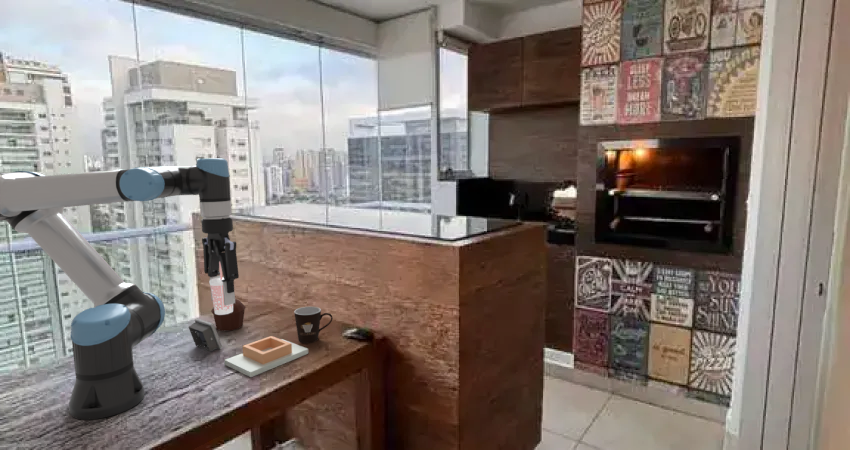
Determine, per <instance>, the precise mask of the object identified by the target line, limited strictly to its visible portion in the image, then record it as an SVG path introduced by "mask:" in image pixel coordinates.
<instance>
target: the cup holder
mask: <svg viewBox="0 0 850 450" xmlns="http://www.w3.org/2000/svg"><path fill="white" fill-rule="evenodd" d="M307 354H309V348H307V347H306V346H305V347H304V346H302V345H299V344H296V343H294V342H292V341H289V340H285V339H283V338H278V337H275V336H274V335H270V336H267V337H264V338H261V339H259V340H256V341H253V342H250V343H247V344H245V345H242V353H240V354H236V355H234V356H231V357H228V358H225V359H224V365H225V366H226V367H229V368H231V369H233V370H235V371H237V372H240V373H241V374H243V375H245V376H247V377H250V378H252V377H255V376H257V375H260V374H262V373H265V372H268V371H270V370H272V369H275V368H277V367H280V366H281V365H284V364H285V363H286V364H288V363H289V362H292V361H293V360H296V359H298V358H301V357H303V356H306V355H307Z"/></svg>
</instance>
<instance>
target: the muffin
mask: <svg viewBox="0 0 850 450" xmlns="http://www.w3.org/2000/svg"><path fill="white" fill-rule="evenodd" d="M246 308H247V307H246V306H245V305H244V304H243V303H242V302H241V300H239V299H237V298H235V303H234V304H233V312H231V313H229V314H224V315H217V314H215V311H214V306H213V307H212V309H211V313H212V314H213V318H214V323H215V324H214V325H215V329H216V331H221V332H230V331H234V330H235V331H236V330H239V329H241V327H243V326H244V325H243V324H244V319H245V318H244V317H245V310H246Z"/></svg>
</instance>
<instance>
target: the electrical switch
mask: <svg viewBox="0 0 850 450" xmlns="http://www.w3.org/2000/svg"><path fill="white" fill-rule="evenodd" d="M188 329H189V332H190V335H191V337H192V339H193V342H194V344H195V347H197V348H199V349H202V350H204V351H207V352H209V353H212V352H213V351H214V350H216V349H219V350H220V349H222V347H223V346H222V342H221V340H220V337H219V335H218V332H217V331H218V330H217V328H216V325H215V324H214V323H213V322H210V321H206V320H203V319H200V318H195V319H194V323H192V324H191V325H188Z"/></svg>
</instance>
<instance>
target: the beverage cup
mask: <svg viewBox="0 0 850 450" xmlns="http://www.w3.org/2000/svg"><path fill="white" fill-rule="evenodd" d="M219 272H220V278H215V279H212V280H210V279H209V281H208V282H209V286H210V285H211V288H210V292H211V291H212V298H213V301H212V304H213V307H214V311H215V314H217V315H224V314H229V313H231V312H233V304H230V305H226V306H225V305H224V295H223V282H222V280H224V276H223V272H222V268H221V263H220V262H219Z"/></svg>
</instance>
